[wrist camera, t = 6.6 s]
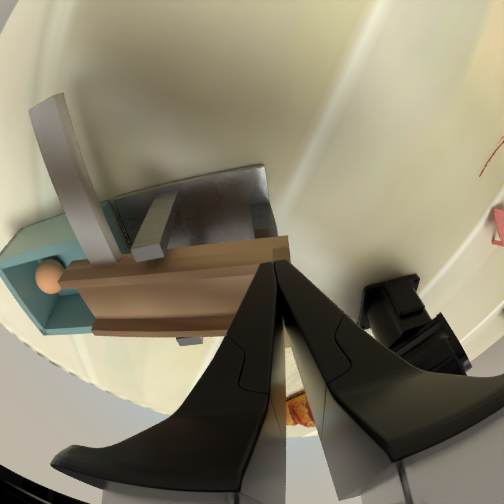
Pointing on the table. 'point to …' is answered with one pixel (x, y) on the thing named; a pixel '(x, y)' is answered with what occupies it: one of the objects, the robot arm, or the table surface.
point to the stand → (197, 214)
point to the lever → (150, 271)
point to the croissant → (299, 412)
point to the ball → (49, 276)
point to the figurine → (498, 215)
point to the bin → (64, 251)
